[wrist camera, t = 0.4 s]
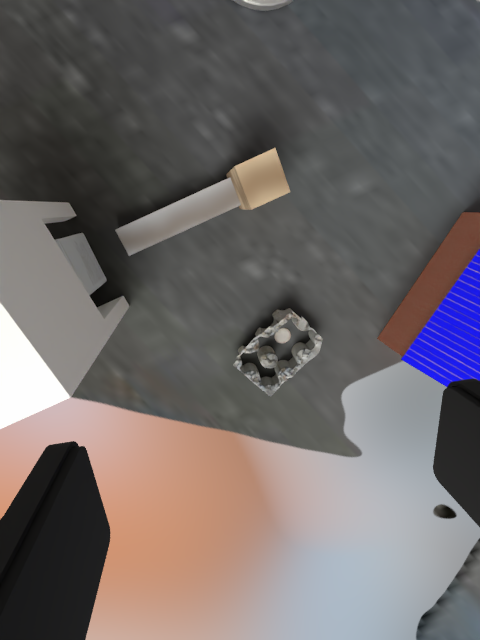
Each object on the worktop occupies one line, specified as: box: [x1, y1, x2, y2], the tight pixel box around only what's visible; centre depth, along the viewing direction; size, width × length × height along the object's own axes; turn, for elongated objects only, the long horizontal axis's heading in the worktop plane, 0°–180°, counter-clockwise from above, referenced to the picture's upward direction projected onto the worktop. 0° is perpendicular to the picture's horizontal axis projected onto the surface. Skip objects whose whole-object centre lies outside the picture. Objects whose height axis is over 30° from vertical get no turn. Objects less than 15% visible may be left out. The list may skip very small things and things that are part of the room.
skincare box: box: [55, 233, 107, 295], centre depth 34 cm, size 6×6×7 cm
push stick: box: [115, 148, 290, 256], centre depth 34 cm, size 4×18×8 cm, turn 113°
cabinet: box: [0, 200, 129, 429], centre depth 28 cm, size 14×9×20 cm, turn 23°
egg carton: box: [233, 308, 322, 396], centre depth 43 cm, size 11×8×4 cm
